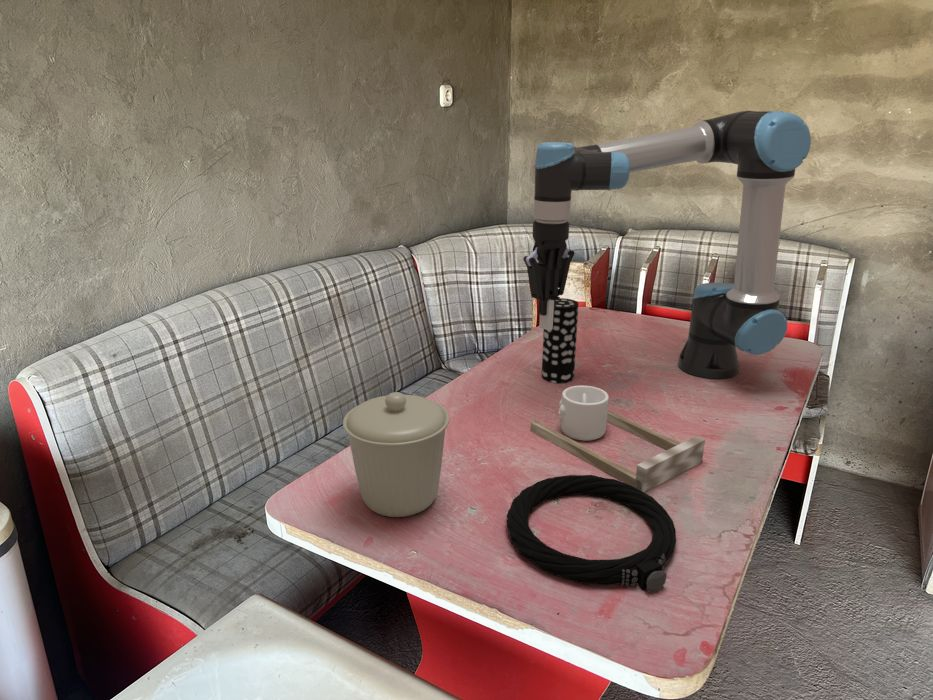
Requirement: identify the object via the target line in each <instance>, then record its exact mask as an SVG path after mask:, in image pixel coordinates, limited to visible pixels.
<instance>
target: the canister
mask: <svg viewBox="0 0 933 700" xmlns="http://www.w3.org/2000/svg"><path fill="white" fill-rule="evenodd" d="M450 419H451V418H450V414H449V412H448V410H447V409H446V408H445V407H444V406H443V405H441V404H440V403H438V402H435V401H433V400H431V399H428V398H426V397H423V396H420V395H414V394H403V393H402V392H399V391H394V392H390V393H389V394H387V395H381V396H377V397H374V398H370V399H368V400H366V401H363V402H362V403H360V404H358V405H356V406H354V407H353V408H351V409H350V410H349V411H348V412H347V413H346V414H345V415H344V416H343V420H342V428H343V429H344V432H345V433H346V434H347V435H348V441H349V445H350V451H351V457H352V461H353V465H354V469H355V470H354V472H355V475H356V481H357V483H358V489H359V492H360V496H361V499H362V501H363V502H364V505H366V506H367V507H368V508H369V510H371V511H373V513H377V514H378V515H382V516H383V517H384V516H385V517H386V516H387V517H388V518H389V517H390V518H391V517H392V518H402V517H403V518H405V517H410V516H415V515H416V514H419V513H421V512H422V511H425V509H427V508H429V507H430V506H431V504H432V503H433V502H434V500H436V496H437V494H438V492H439V487H440V482H441V481H440V480H441V471H442V465H443V464H442V463H443V455H444V445H445V444H444V443H445V435H446V434H445V433H446V429H447V427H448V425H449V424H450Z"/></svg>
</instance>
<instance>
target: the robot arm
mask: <svg viewBox="0 0 933 700" xmlns="http://www.w3.org/2000/svg"><path fill="white" fill-rule="evenodd" d="M811 138H812V137H811V132H810V129H809V126H808V125H807V123H806V122H805V121H804V119H802V117H801V116H798V114H795V113H792V112H785V111H782V110H767V111H766V110H765V111H764V110H763V111H761V110H759V111H758V110H757V111H756V110H755V111H754V110H753V111H752V110H741V111H738V112H737V111H736V112H732V113H728V114H726V115H725V114H724V115H719V116H717V117H716V116H715V117H714V118H713V117H712V118H709V119H703V120H698V121H696V122H695V124H694V125H693V126H690V127H685V128H680V129H674V130H669V131H664V132H663V131H662V132H658V133H657V132H656V133H651V134H646V135H639V136H635V137H630V138H624V139H617V140H612V141H611V140H610V141H607V142H601V143H596V144H590V145H584V146H578V147H577V146H574V145H575V144H573V143H572V142H563V141H547V142H542V143H541V142H540V144H538V145H537V146H536V153H535V160H534V161H535V162H534V195H533V197H534V198H533V215H532V217H533V219H534V220H533V222H532V238H533V240H534V244H533V247H532V252H531V253H530V254H529V255H525V256H524V257H523V262H524V264H525V267H526V269H527V270H526V271H527V277H528V278H527V279H528V283H529V290H530V297H531V298H532V299H536V300H538V305H537V306H538V309H537V310H538V311H537V313H538V315H539V326H538V327H539V328H541V329H542V330H544V329H545V330H551V329H553V313H555V305H556V300H559V299H560V298H561V297H560V296H563V295H564V294H565V293H564V292H565V287H566V283H567V280H568V276H569V271H570V266H571V262H572V260H573V258H574V256H575V250H570V249H569V248H568V247H567V242H566V241H568V239H569V235H570V233H569V232H570V223H569V221H568V220H570V219H571V202H572V200H571V199H572V191H611V190H621V189H623V188H624V187H625V186H626V185H627V184H628V181H629V179H630V173H635V172H641V171H646V170H651V169H658V168H662V167H668V166H674V165H678V164H685V163H690V162H695V161H696V162H697V163H698V164H701V165H703V164H708V163H710V164H711V163H729V164H734V165H737V168H736V169H737V170H736V171H737V172H736V178H737V179H738V180H739V182H741V184H742V196H741V206H740V214H739V215H740V218H739V219H740V220H739V228H738V239H737V240H738V241H737V247H736V248H737V249H736V258H735V259H736V261H735V271H734V280H733V281H734V282H733V283H731V282H706V283H700V284H698V285H696V287H695V288H694V291H693V296H692V298H691V299H692V304H691V305H692V306H691V313H690V314H691V315H690V322H689V328H688V337H687V340H686V342H685V344H684V345H683V348H682V350H681V351H680V354H679V355H678V363H677V366H678V367H679V369H680V370H682V371H683V372H685V373H687V374H689V375H692V376H695V377H700V378H705V379H706V378H707V379H713V380H714V379H717V380H718V379H719V380H720V379H729V378H732V377H735V376H736V375H737V374H738V372H739V368H740V362H739V358H738V352H737V350H740V351H741V352H745V353H747V354H749V355H763V354H767V353H769V352H771V351H772V350H774V349H775V348H776V346H778V345H780V344H781V342H782V341H783V340H784V338H785V336H786V334H787V330H788V319H787V317H785V315H784V313H783V312H782V311H780V310H779V306H780V299H781V298H780V297H781V296H780V295H779V293H777V291H776V290H775V288H774V287H775V281H776V280H775V279H776V278H775V277H776V271H777V262H778V252H779V245H780V237H781V228H782V227H781V226H782V218H783V210H784V204H785V203H784V202H785V193H786V185H787V184H788V183H789V182H790V181H792V179H794V178H795V174H796V169H797V168H799V167H800V166H801V165H802V163H804V161H803V160H805V159H806V158H807V157H808V154H810V153H809V152H810V150H811V146H812V145H811V143H812V139H811Z"/></svg>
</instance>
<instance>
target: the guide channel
mask: <svg viewBox="0 0 933 700" xmlns="http://www.w3.org/2000/svg"><path fill="white" fill-rule="evenodd" d="M607 423H609V424H611V425H614V426H616V427H618V428H620V429H622V430H624V431H626V432H628V433H630V434H632V435H635V436H636V437H638V438H641V439H642V440H645V441H647V442H648V443H652V444H654V445H656V446H658V447H660V448H662V449H664V450H665V451H662V452H660V453H659V454H655V455H654V456H652V457H650V458H647V459H646V460H644V461H642V462H640V463H638V464H636V472H634V471H632V470H630V469H628V468H626V467H625V466H623V465H620V464H618V463H617V462H616V461H613V460H611V459H610V458H607V457H605V456H604V455H602V454H601V453H598V452H596V451H595V450H592V449H590V448H588V447H587V446H585V445H583V444H582V443H579V442H577V441H575V439H573V438H570V437H568V436H567V435H565V434H563V433H561V432H558V431H556V430H555V429H552V428H551V427H550V426H547V425H545V424H544V423H542V422H540V421H537V420H533V421H530V432H532V433H534V434H536V435H538V436H539V437H541V438H543V439H545V440H547V441H549V442H551V444H554V445H556V446H557V447H559V448H561V449H562V450H565V451H566V452H568V453H570V454H572V455H574V456H576V457H578V458H579V459H581V460H583V461H584V462H586V463H588V464H590V465H591V466H594V467H596V468H597V469H599V470H601V471H603V472H604V473H606V474H608V475H610V476H612V477H613V478H614V479H616V480H618V481H620V482H623V483H626V484H629V485H631V486H633V487H635V488H637V489H639V490H640V491H642V492H644V493H647V492H648V491H651V490H652V489H654V488H656V487H658V486H659V485H661V484H663V483H666V482H667V481H669V480H672V479H673V478H675V477H677V476H679V475H681V474H682V473H684V472H687V471H688V470H690V469H692V468H694V467H696V466H698V465H700V464H701V463H703V457H704V451H705V445H706V439H704V438H702V437H701V436H698V435H696V436H694V437H691V438H689V439H687V440H685V441H683V442H679V441H677V440H675V439H673V438H671V437H669V436H667V435H665V434H662V433H660V432H658V431H656V430H653V429H652V428H649V427H647V426H645V425H642V424H640V423H638V422H636V421H633V420H632V419H629V418H627V417H624V416H623V415H622V414H621V415H620V414H618V413H617V412H614V411H612V410H610V409H608V413H607Z"/></svg>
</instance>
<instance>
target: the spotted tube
mask: <svg viewBox="0 0 933 700" xmlns="http://www.w3.org/2000/svg"><path fill="white" fill-rule="evenodd" d="M578 317H579V302H578V300H577V301H576V300H575V299H570V298H563V297H562V298H561V297H560V299H559V300H556V305H555V313H553V329H551V330H545V329H543V333H542V336H543V337H542V355H541V356H542V358H541V359H542V360H541V361H542V362H541V378H542V380H543V381H546V382H548V383H551V384H567V383H570V382H572V381H574V379H575V371H576V370H575V369H576V368H575V367H576V352H577V351H576V350H577V335H578V334H577V332H578Z"/></svg>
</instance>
